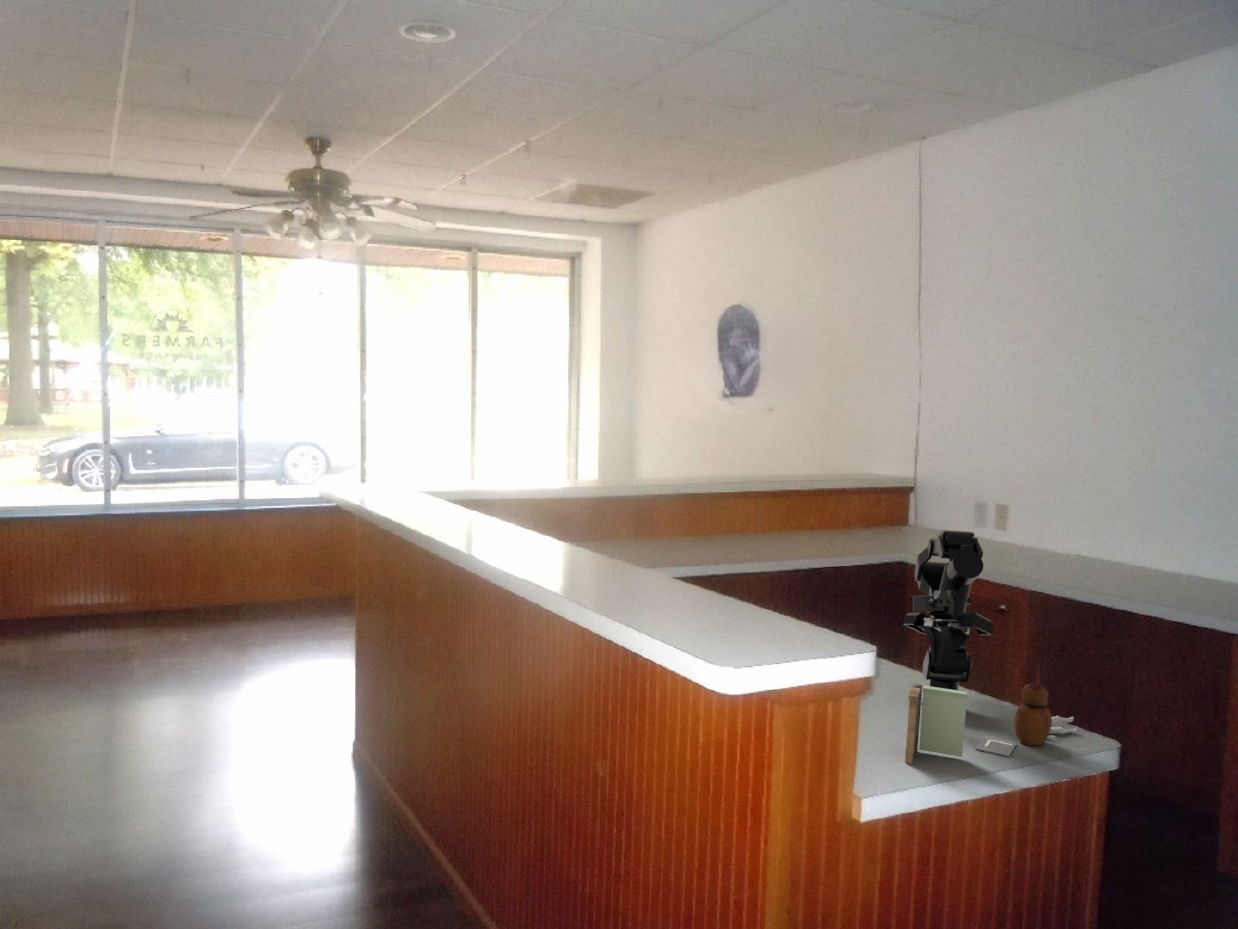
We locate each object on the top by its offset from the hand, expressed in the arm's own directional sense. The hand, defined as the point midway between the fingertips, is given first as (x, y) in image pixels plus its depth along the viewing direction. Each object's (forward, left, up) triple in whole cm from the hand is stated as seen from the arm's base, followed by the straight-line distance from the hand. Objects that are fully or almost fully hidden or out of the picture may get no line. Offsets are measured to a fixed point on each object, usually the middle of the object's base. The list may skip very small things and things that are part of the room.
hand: (937, 664), depth 197 cm
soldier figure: (-15, +16, -13) cm, 25 cm away
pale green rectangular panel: (+13, +9, -12) cm, 20 cm away
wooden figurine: (-8, +16, -13) cm, 22 cm away
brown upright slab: (+18, +5, -13) cm, 22 cm away
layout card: (0, +13, -13) cm, 18 cm away
